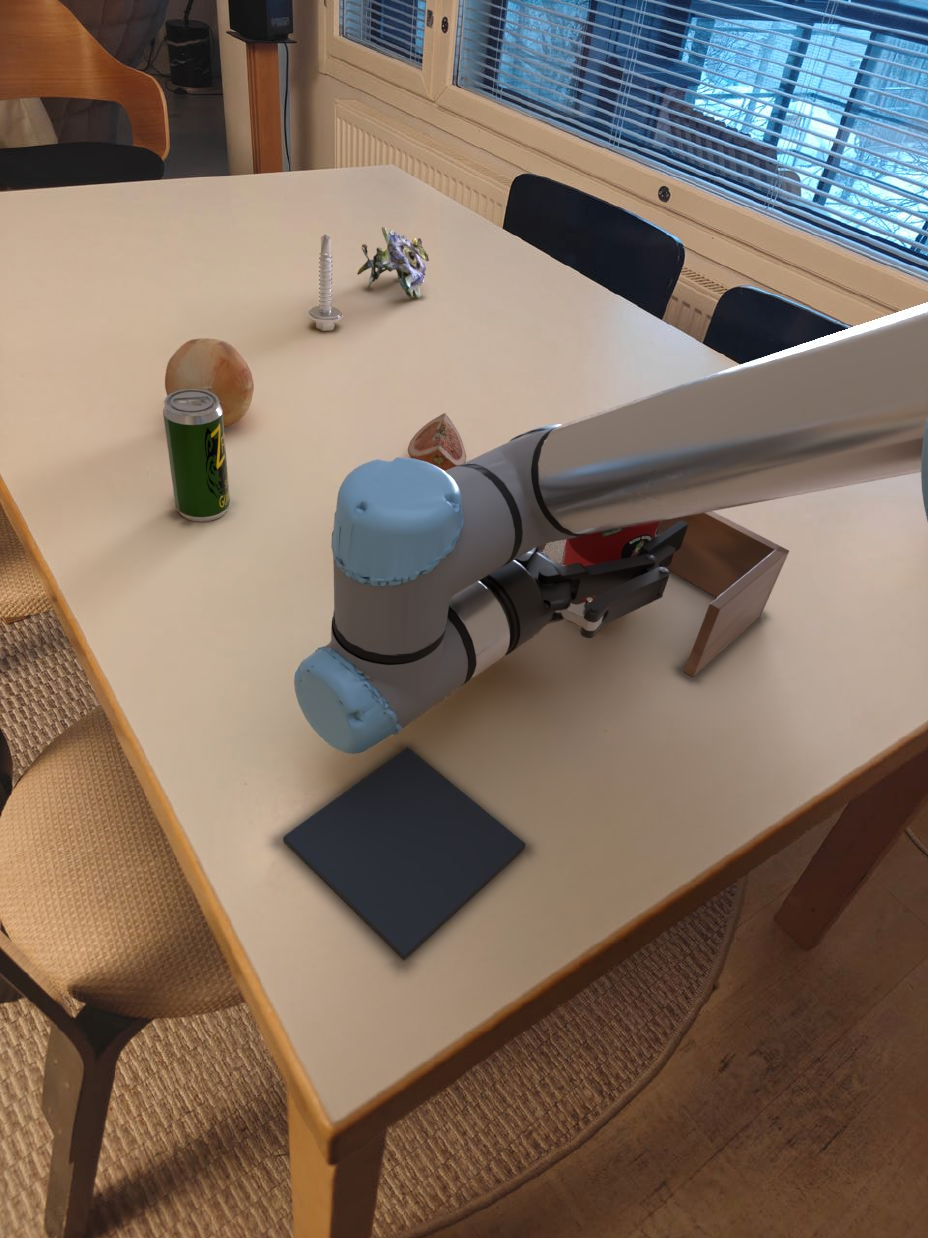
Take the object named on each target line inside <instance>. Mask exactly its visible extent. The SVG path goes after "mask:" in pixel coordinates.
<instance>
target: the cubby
mask: <svg viewBox="0 0 928 1238" xmlns="http://www.w3.org/2000/svg"><path fill="white" fill-rule="evenodd" d="M681 520H682V521H684V522H686V523H688V527H687V530H686V533H685V536H684V539H683V542H682V545H681V548H680V549H679V550H677V551H676V552H674V555H673V558H672V561H671V564H670V565H669V566H668V567H666V569H668V570H669V571H670V573H672V574H675V575H676V576H678V577H679V578H681V579H683V580H685V581H687V582H688V583H690V584H692V585H694V586H696V587H697V588H699V589H701V590H703V591H704V592H706V593H708V594H710V595H711V596H713V597H715V599H714V600H713V601H711V602H710V603H709V605H708V608H707V610H706V613H705V616H704V618H703V621H702V623H701V626H700V627H699V631H698V634H697V636H696V639H695V641H694V644H693V646H692V649H691V652H690V654H689V657H688V659H687V662H686V665H685V667H684V669H683V672H684V673H685V674H687V675H689V676H691V677H692V678H694V677H695V676H696V675H697V674H698V673H699V672H701V670H703V669H704V668H705V667H706V666H707V665H709V663H711V662H712V661H713V660H714V659H715V658H717V656H718V655H719V654H720V653H722V652H723V651H724V650H725V649H726V648H727V647H728V646H730V644H731V643H732V642H734V641H735V640H736V639H737V638H738V637H739V636H740V635H741V634H743V632H745V631H746V630H747V629H748V628H749V627H750V626H752V624H754V623H755V622H756V621H758V619H759V618H760V617H761V616H762V614H763V612H764V609H765V608H766V606H767V603H768V601H769V598H770V596H771V594H772V591H773V589H774V588H775V585H776V582H777V580H778V578H779V575H780V574H781V571H782V569H783V566H784V564H785V562H786V560H787V557H788V555H789V553H790V550H789V549H787V548H785V547H783V546H782V545H779V544H778V543H775V542H773V541H772V540H770V539H768V538H765V536H762V535H760V534H758V533H756V532H754V531H752V530H750V529H749V528H746V527H745V526H742V525H741V524H739V523H736V522H735V521H733V520H731V519H729V518H727V517H725V516H723V515H721V514H720V513H718V512H716V511H710V512H705V513H699V514H694V515H688V516H683V517H678V518H672V519H667V520H662V521H661V524H660V527H659V531H658V534H657V536H658V535H660V534H661V533H663V532H664V531H666V530H667V529H669V528H670V527H672V526H673V525H675V524H676V523H678V522H679V521H681Z"/></svg>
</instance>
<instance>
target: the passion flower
mask: <svg viewBox="0 0 928 1238" xmlns="http://www.w3.org/2000/svg"><path fill="white" fill-rule="evenodd" d="M381 231H382V232H381V233H382V235H383V237H384V240H385V243H386V244H387V246H386V249H385V250H384V251H383V250H382V249H383V248H382V247H378V246H377V247H376V253H375V255H374V256H373V259H370V258H369V254H368V253H369V251H368V245H367V244H366V243H363V244H361V250H362V252H363V254H364V256H365V258H366V259H367V261H366V262H365V263H364V264H363V265H361V267H360V268H359V269H358V271H357V273H356V274H357V276H359V275H361V274H362V273H364V272H365V271H367V270H369V269H371V271H370V272H371V273H370V276H369V279H368V286H367V290H369V289H370V288H371V285H372V284H373V282H375V281H377V280H379V278H380V276H381V274H383V273H385V272H386V271H387V272H389V273H390V272H392V271H396V273H397V280H398V281H399V284H400V287H401V288H402V289H403V290H404V292H405V294H406V295H407V296H408V297H410V299H412V298H415V299H420V298H421V290H420V286H422V284H424V283H425V279H424V278H425V276H426V271H427V266H426V263H424V262H423V260H424V261H425V262H430V258H429V253H428V251H426V249H425V248H424V245H423V240H422V239H421V238H420V237H418V238H416V237H414V238H413V239H412V240H411V242H410V240H409V239H406V237H405V235H404V234H403V235H402V236H400V234H397V232H396V231H394V229H390V230H389V232H388V231H387V228H386V227H384V226H382V227H381Z"/></svg>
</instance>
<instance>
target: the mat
mask: <svg viewBox="0 0 928 1238" xmlns="http://www.w3.org/2000/svg"><path fill="white" fill-rule="evenodd" d="M282 838H283V843H285V845H287V846H288V847H289V848H290V849H291V851H292V852H294V853H295V855H297V856H298V858H300V860H302V861H303V862H304V863H305V864H306V865H307V866H308V867H309V868H310V869H311V870H312V871H313V872H314V873H315V874H316V875H317V876H318V877H319V878H320V879H321V880H322V881H323V882H324V883H325V884H326V885H328V887H329V888H331V890H332V891H334V893H335V894H336V895H337V896H338V897H340V899H342V901H344V903H346V904H347V905H348V907H350V908H351V909H352V910H353V911H354V912H355V913H356V914H357V916H359V917H360V918H361V919H362V921H364V922H365V923H366V924H367V925H368V926H369V927H370V928H371V929H372V930H373V931H374V932H375V933H376V934H377V935H378V936H379V937H380V938H381V939H382V940H383V941H384V942H385V943H386V944H387V945H388V946H389V947H390V948H391V949H392V950H393V951H394V952H395V953H396V954H397V955H399V957H400V958H401V959H402V960H406V959H407V958H408V957H409V956H410V955H411V954H412V953H413V952H414V951H416V950H417V949H418V948H419V947H420V946H421V945H422V944H423V943H424V942H425V941H427V940H428V938H430V937H431V936H432V935H433V934H434V933H435V932H436V931H437V930H438V929H439V928H440V927H442V926H443V924H445V923H446V922H447V921H448V920H449V919H450V918H451V917H452V916H453V915H455V914H456V912H457V911H459V910H460V909H461V908H462V907H463V906H464V905H465V904H466V903H467V902H468V901H470V900H471V899H472V898H473V897H474V896H475V895H476V894H478V892H480V890H481V889H482V888H483V887H484V886H486V885H487V884H488V883H489V882H490V881H491V880H492V879H493V878H494V877H495V876H496V875H498V874H499V873H500V872H501V871H502V870H503V869H504V868H506V866H507V865H509V863H510V862H512V861H513V860H514V859H515V858H516V857H517V856H518V855H519V854H520V853H521V852H522V851H523V850H525V847H526V843H525V842H524V841H523V840H522V839H521V838H519V837H518V836H517V835H516V834H514V833H513V832H512V831H511V830H509V829H508V828H507V827H506V826H505V825H503V824H502V823H501V822H500V821H498V820H497V819H496V818H495V817H494V816H493V815H491V814H490V813H489V812H487V811H486V810H485V809H484V808H483V807H482V806H480V805H479V804H478V803H476V802H475V801H474V800H473V799H472V798H471V797H469V796H468V795H467V794H465V793H464V792H463V791H462V790H460V788H458V787H457V786H456V785H455V784H454V783H452V782H451V781H450V780H448V778H447V777H445V776H443V775H442V774H441V773H440V772H439V771H438V770H436V769H435V768H434V767H433V766H432V765H430V764H429V763H428V762H427V761H425V760H424V759H423V758H422V757H420V756H419V755H418V754H417V753H415V752H414V751H413V750H412V749H410V748H409V747H408V746H407V747H405V749H403V750H400V752H398V753H397V754H396V755H394V756H393V757H392V758H390V759H389V760H387V761H386V762H385V763H383V764H382V765H380V766H379V767H377V768H376V769H375V770H374V771H372V772H371V773H369V774H368V775H366V776H365V777H364V778H362V779H361V780H360V781H358V782H357V783H356V784H354V785H352V786H351V787H350V788H349V789H347V790H346V791H344V792H343V793H342V794H340V795H338V797H335V799H333V800H332V801H331V802H329V803H328V804H326V805H325V806H324V807H322V808H320V809H319V810H318V811H317V812H315V813H313V815H311V816H309V817H308V818H307V819H306V820H304V821H302V822H301V823H300V824H298V825H297V826H296V827H295V828H293V829H291V830H290V831H289V832H287V833H286V834H285V835H283V837H282Z"/></svg>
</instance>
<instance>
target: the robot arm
mask: <svg viewBox="0 0 928 1238" xmlns="http://www.w3.org/2000/svg"><path fill="white" fill-rule="evenodd" d="M918 473H920V479H921V493H922V501H923V508H924V513H925V516H926V520H927V522H926V523H928V302H926V303H923V304H920V305H917V306H914V307H911V308H908V309H905V310H902V311H898V312H895V313H893V314H890V315H887V316H883V317H881V318H878V319H875V320H872V321H869V322H865V323H863V324H860V325H856V326H853V327H851V328H848V329H845V330H842V331H838V332H836V333H833V334H830V335H826V336H824V337H820V338H817V339H815V340H812V341H809V342H806V343H802V344H799V345H797V346H794V347H790V348H787V349H784V350H782V351H779V352H775V353H772V354H770V355H767V356H764V357H761V358H757V359H754V360H751V361H749V362H745V363H743V364H742V363H741V364H740V365H737V366H733V367H730V368H728V369H724V370H721V371H719V372H715V373H713V374H710V375H706V376H703V377H701V378H697V379H694V380H692V381H689V382H686V383H685V382H684V383H683V384H680V385H676V386H673V387H671V388H667V389H665V390H661V391H658V392H656V393H652V394H649V395H647V396H643V397H641V398H637V399H634V400H631V401H628V402H625V403H622V404H618V405H616V406H613V407H610V408H607V409H604V410H601V411H598V412H595V413H592V414H589V415H586V416H583V417H580V418H576V419H574V420H571V421H568V422H565V423H561V424H560V423H559V424H558V423H554V424H553V423H552V424H549V425H545V426H542V427H537V428H534V429H530V430H528V431H526V432H524V433H521V434H518V435H517V436H515V437H513V438H511V439H510V440H509V441H508V442H506V443H503V444H501V445H500V446H497V447H495V448H493V449H491V450H489V451H487V452H484V453H483V454H481V455H478V456H476V457H474V458H472V459H469V460H468V461H466V462H465V463H464V464H462V465H457V466H456V467H453V468H451V469H448V470H446V471H444V470H442V469H440V468H439V467H437V466H435V465H433V464H430V463H427V462H425V461H420V460H417V459H412V458H411V457H394V459H393V460H383V459H380V458H379V459H373V460H370V461H368V462H365V463H362V464H361V465H358V466H357V467H356V468H354V469H353V470H352V471H350V472H349V473H348V474H347V475H346V476H345V478H344V479H343V481H342V483H340V486H339V489H338V492H337V499H336V506H335V512H334V520H333V530H332V532H331V545H330V546H331V547H330V548H331V551H332V561H333V562H332V563H333V613H332V614H333V615H332V618H331V627H330V642H329V643H327V644H326V645H324V646H320V647H317V649H315V650H314V652H313V653H311V654H310V655H309V656H307V657H306V658H305V659H303V660H302V661H301V662H300V663H299V665H298V667H297V669H296V670H295V673H294V677H293V685H294V693H295V697H296V700H297V703H298V706H299V708H300V710H301V712H302V714H303V716H304V718H305V719H306V721H307V723H308V724H309V725H310V727H311V728H312V729H313V731H314V732H315V733H316V734H317V735H318V736H319V737H320V738H321V739H322V740H323V741H324V742H326V743H327V744H328V745H329V746H330V747H331V748H333V749H335V750H337V751H338V752H342V753H345V754H348V755H349V754H350V755H351V754H352V755H353V754H361V753H363V752H366V751H368V750H369V749H371V748H372V747H374V746H376V745H377V744H379V743H381V742H382V741H384V740H385V739H387V738H389V737H390V736H392V735H398V734H399V733H401V732H402V730H403V729H405V728H406V727H407V726H409V725H411V723H413V722H414V721H416V720H417V719H418V718H420V717H421V716H422V715H423V714H425V713H427V712H428V711H430V710H431V709H433V708H434V707H435V706H437V705H438V704H439V703H441V702H442V701H444V700H445V699H446V698H447V697H449V696H451V695H452V694H453V693H454V692H456V691H457V690H459V689H460V688H461V687H462V686H464V685H465V684H466V683H468V682H469V681H471V680H473V679H474V678H476V677H477V676H478V675H480V674H481V673H482V672H484V671H486V670H488V668H490V667H491V666H493V665H494V664H496V663H497V662H499V661H500V660H502V659H503V658H504V657H505V656H507V655H510V654H511V653H513V652H514V651H516V650H517V649H519V648H520V647H521V646H523V645H524V644H526V643H527V642H529V641H530V640H532V639H533V638H534V637H536V636H537V635H538V634H539V633H540V632H541V631H542V630H543V629H544V628H545V627H546V626H547V625H549V624H552V623H559V622H562V621H564V620H567V621H569V622H571V623H573V624H575V625H577V626H580V630H579V634H580V636H581V637H583V638H586V639H593V638H594V637H595V636H596V635H597V634H598V633H599V632H600V630H601V629H602V628H603V627H604V626H605V625H608V624H610V623H612V622H614V621H616V620H618V619H621V618H622V617H625V616H626V615H628V614H631V613H632V612H635V611H636V610H639V609H641V608H643V607H645V606H647V605H650V604H651V603H653V602H655V601H657V600H660V599H662V598H663V595H664V592H665V590H666V587H667V584H668V581H669V578H670V575H671V571H669V570H668V569H666V567H668V566H669V565H670V564H671V561H672V558H673V555H674V552H676V551H677V550H679V549H680V548H681V545H682V542H683V539H684V536H685V533H686V530H687V527H688V523H686V522H684V521H682V520H681V521H679V522H678V523H676V524H675V525H673V526H672V527H670V528H669V529H667V530H666V531H664V532H663V533H661V534H660V535H658V536H657V537H655V538H654V539H653V540H651V541H650V542H648V543H646V544H645V545H643V546H642V547H641V550H640V553H639V556H634V557H629V558H624V559H619V560H614V561H609V562H603V563H598V564H593V565H588V566H583V565H582V564H581V563H574V564H569V565H562V564H561V562H560V563H559V562H557V561H554V560H553V559H551V558H550V557H549V555H547V554H546V553H544V550H545V548H546V546H547V544H549V543H553V542H559V541H565V540H566V539H570V538H575V537H579V536H584V535H588V534H592V533H597V532H603V531H608V530H613V529H619V528H624V527H629V526H635V525H640V524H646V523H651V522H656V521H662V520H667V519H672V518H678V517H683V516H688V515H694V514H699V513H705V512H710V511H713V512H716V511H721V510H726V509H731V508H735V507H736V508H737V507H742V506H747V505H752V504H758V503H763V502H768V501H775V500H778V499H784V498H789V497H795V496H800V495H806V494H810V493H817V492H822V491H823V492H824V491H827V490H832V489H833V490H834V489H837V488H844V487H849V486H854V485H859V484H864V483H870V482H875V481H881V480H886V479H891V478H897V477H903V476H907V475H914V474H918ZM596 595H598V596H596ZM592 596H596V597H595V598H594V599H593V598H591V597H592ZM587 597H588V598H587ZM584 598H586V602H583V603H582V602H581V601H582V600H583V599H584Z"/></svg>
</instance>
